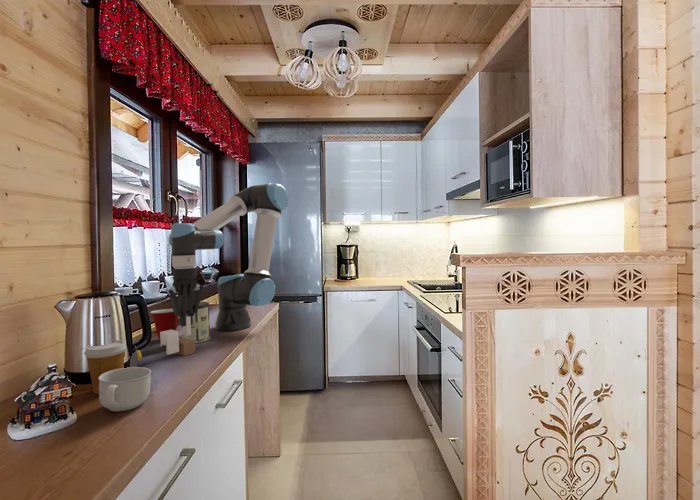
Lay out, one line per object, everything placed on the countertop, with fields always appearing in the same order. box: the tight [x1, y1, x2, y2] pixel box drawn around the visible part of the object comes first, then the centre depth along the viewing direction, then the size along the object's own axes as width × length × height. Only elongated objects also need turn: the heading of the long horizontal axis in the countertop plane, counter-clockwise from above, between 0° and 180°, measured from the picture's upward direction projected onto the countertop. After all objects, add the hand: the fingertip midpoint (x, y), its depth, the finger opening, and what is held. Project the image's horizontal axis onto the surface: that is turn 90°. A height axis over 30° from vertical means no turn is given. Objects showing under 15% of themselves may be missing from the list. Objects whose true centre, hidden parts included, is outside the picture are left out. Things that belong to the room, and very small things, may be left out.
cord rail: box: [130, 337, 196, 367], centre depth 125 cm, size 22×7×7 cm, turn 144°
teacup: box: [98, 366, 152, 412], centre depth 89 cm, size 14×11×8 cm
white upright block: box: [159, 329, 180, 356], centre depth 128 cm, size 4×4×7 cm
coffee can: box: [181, 301, 211, 344], centre depth 148 cm, size 10×10×14 cm
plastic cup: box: [150, 308, 179, 342], centre depth 150 cm, size 11×11×12 cm
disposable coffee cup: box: [83, 339, 127, 395], centre depth 101 cm, size 10×10×12 cm
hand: (187, 334), depth 133 cm, fingers closed
